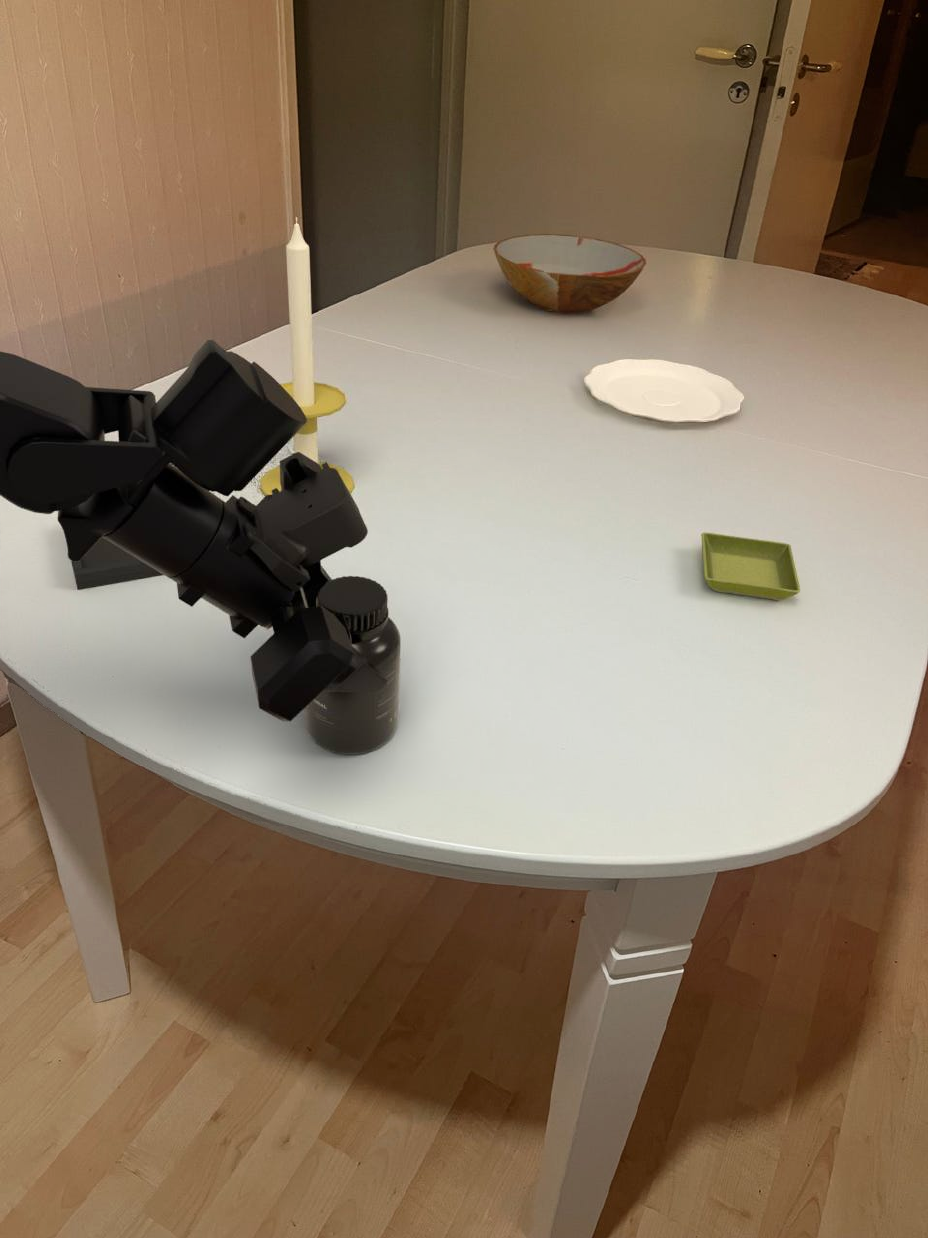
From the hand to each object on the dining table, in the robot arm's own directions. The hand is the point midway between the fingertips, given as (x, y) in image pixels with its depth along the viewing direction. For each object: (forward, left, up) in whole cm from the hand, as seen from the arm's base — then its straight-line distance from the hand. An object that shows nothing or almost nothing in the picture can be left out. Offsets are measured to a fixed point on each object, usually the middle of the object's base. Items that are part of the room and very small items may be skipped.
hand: (371, 654), depth 65 cm
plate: (+51, +54, -7) cm, 75 cm away
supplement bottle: (-1, 0, -7) cm, 7 cm away
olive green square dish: (+39, +12, -7) cm, 42 cm away
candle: (+1, +38, -7) cm, 39 cm away
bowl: (+53, +95, -7) cm, 109 cm away
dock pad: (-17, +28, -7) cm, 34 cm away
